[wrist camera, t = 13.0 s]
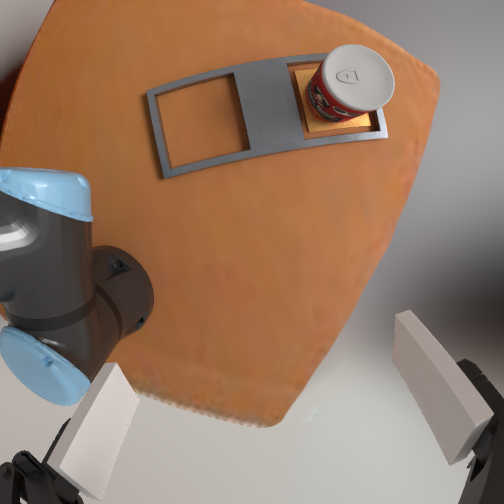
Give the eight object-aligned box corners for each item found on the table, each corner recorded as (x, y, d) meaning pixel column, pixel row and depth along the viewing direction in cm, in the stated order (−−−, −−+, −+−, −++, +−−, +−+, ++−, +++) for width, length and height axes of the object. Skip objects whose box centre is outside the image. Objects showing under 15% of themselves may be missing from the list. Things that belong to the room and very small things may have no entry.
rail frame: (167, 178, 37) (164, 178, 36) (149, 92, 33) (146, 90, 32) (384, 138, 35) (388, 137, 33) (364, 54, 31) (367, 52, 30)
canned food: (294, 84, 33) (308, 56, 22) (343, 64, 31) (371, 35, 21) (322, 132, 35) (347, 122, 24) (370, 111, 33) (407, 97, 23)
